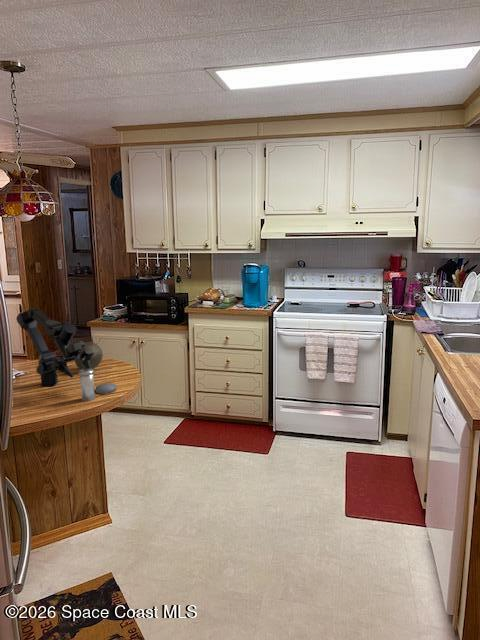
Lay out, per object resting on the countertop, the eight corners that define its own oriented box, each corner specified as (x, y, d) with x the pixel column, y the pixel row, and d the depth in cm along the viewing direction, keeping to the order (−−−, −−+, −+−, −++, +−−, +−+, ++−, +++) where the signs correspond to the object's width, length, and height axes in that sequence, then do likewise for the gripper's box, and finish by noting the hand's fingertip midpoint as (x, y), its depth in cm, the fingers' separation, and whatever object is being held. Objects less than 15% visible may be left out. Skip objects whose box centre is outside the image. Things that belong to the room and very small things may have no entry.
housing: (79, 401, 202) (76, 373, 199) (83, 396, 208) (81, 368, 206) (93, 401, 202) (91, 373, 199) (98, 396, 208) (95, 368, 206)
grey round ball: (76, 376, 236) (73, 347, 233) (74, 368, 249) (72, 341, 246) (105, 372, 241) (102, 344, 238) (102, 364, 254) (100, 338, 251)
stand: (93, 394, 211) (93, 390, 210) (99, 387, 219) (98, 383, 219) (113, 394, 211) (113, 389, 210) (118, 387, 220) (118, 383, 219)
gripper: (51, 340, 198) (68, 369, 194) (89, 331, 212) (106, 359, 208) (43, 355, 205) (60, 384, 200) (81, 346, 219) (97, 372, 214)
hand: (81, 374), depth 205 cm, fingers open, 9 cm apart
